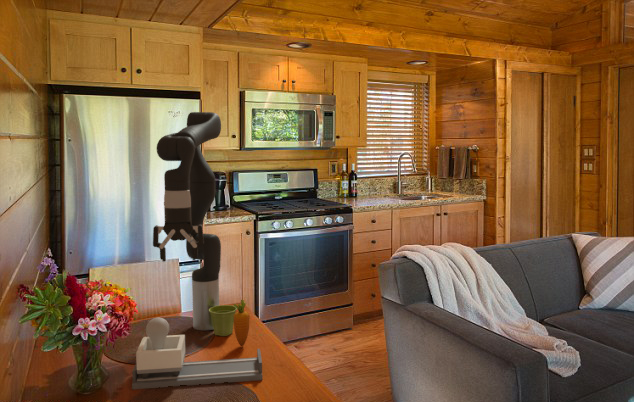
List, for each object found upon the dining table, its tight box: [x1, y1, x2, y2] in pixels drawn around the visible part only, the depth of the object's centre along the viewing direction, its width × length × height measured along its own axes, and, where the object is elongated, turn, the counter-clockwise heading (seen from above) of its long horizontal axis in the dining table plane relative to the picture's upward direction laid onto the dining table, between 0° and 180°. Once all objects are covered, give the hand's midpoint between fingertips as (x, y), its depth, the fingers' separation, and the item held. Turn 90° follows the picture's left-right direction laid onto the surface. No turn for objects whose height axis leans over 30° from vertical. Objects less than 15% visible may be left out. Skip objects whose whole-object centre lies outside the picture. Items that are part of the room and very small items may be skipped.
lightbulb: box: [145, 317, 170, 350], centre depth 141 cm, size 6×6×11 cm
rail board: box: [131, 348, 263, 390], centre depth 143 cm, size 12×34×4 cm, turn 100°
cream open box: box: [135, 334, 186, 379], centre depth 141 cm, size 11×11×8 cm
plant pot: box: [209, 304, 238, 337], centre depth 175 cm, size 9×9×9 cm
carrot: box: [232, 299, 250, 348], centre depth 163 cm, size 5×5×15 cm
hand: (179, 260), depth 151 cm, fingers open, 8 cm apart
